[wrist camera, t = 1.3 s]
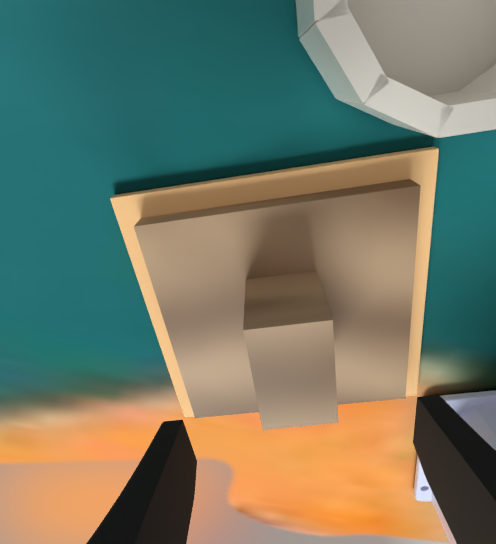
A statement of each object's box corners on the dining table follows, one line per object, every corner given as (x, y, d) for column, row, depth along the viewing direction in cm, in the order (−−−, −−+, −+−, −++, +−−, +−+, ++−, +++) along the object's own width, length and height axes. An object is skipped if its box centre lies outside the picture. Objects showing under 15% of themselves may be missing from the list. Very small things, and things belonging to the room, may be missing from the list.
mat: (413, 388, 20) (416, 395, 20) (185, 410, 21) (184, 417, 21) (432, 146, 14) (438, 148, 14) (114, 195, 15) (109, 198, 15)
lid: (398, 383, 19) (436, 462, 15) (197, 403, 20) (183, 482, 16) (410, 179, 14) (471, 217, 10) (140, 218, 15) (99, 267, 11)
